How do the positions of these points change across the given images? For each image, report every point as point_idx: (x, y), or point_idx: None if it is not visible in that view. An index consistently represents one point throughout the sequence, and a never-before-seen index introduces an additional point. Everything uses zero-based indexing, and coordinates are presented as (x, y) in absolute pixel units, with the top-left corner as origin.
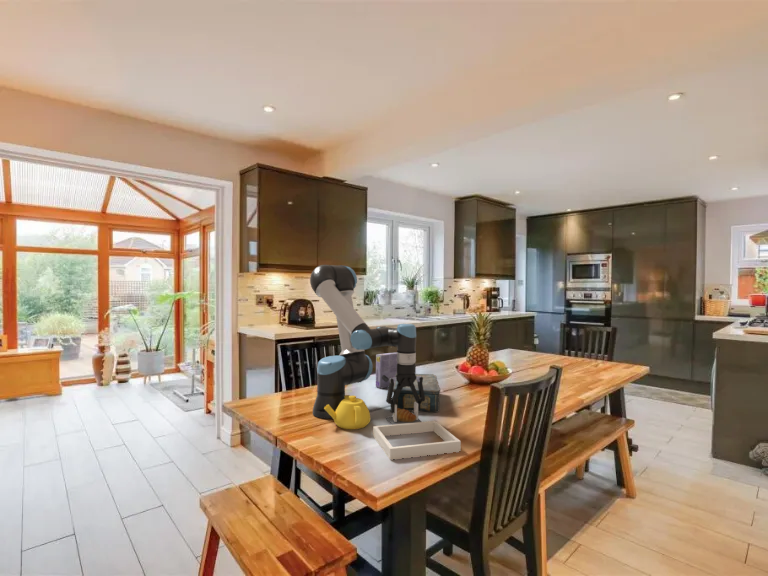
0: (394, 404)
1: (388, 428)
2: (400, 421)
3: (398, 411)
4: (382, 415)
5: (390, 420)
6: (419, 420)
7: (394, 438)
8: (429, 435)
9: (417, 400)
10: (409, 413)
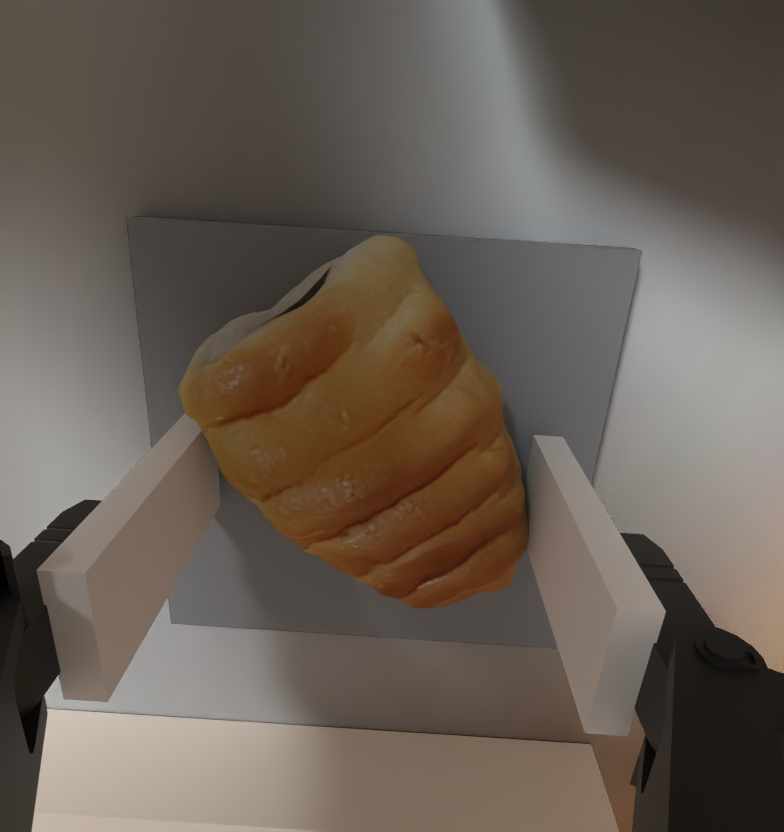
0: (36, 710)
1: None
2: None
3: (255, 449)
4: (92, 19)
5: (156, 396)
6: None
7: None
8: None
9: (640, 800)
10: (429, 547)
